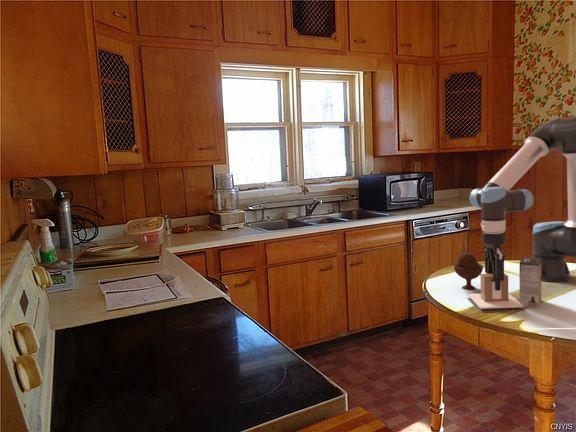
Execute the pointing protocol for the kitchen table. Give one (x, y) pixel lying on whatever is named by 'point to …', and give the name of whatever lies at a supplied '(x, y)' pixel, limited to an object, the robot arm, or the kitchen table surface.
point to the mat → (494, 308)
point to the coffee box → (530, 282)
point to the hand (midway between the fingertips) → (494, 296)
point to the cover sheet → (495, 304)
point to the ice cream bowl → (468, 269)
